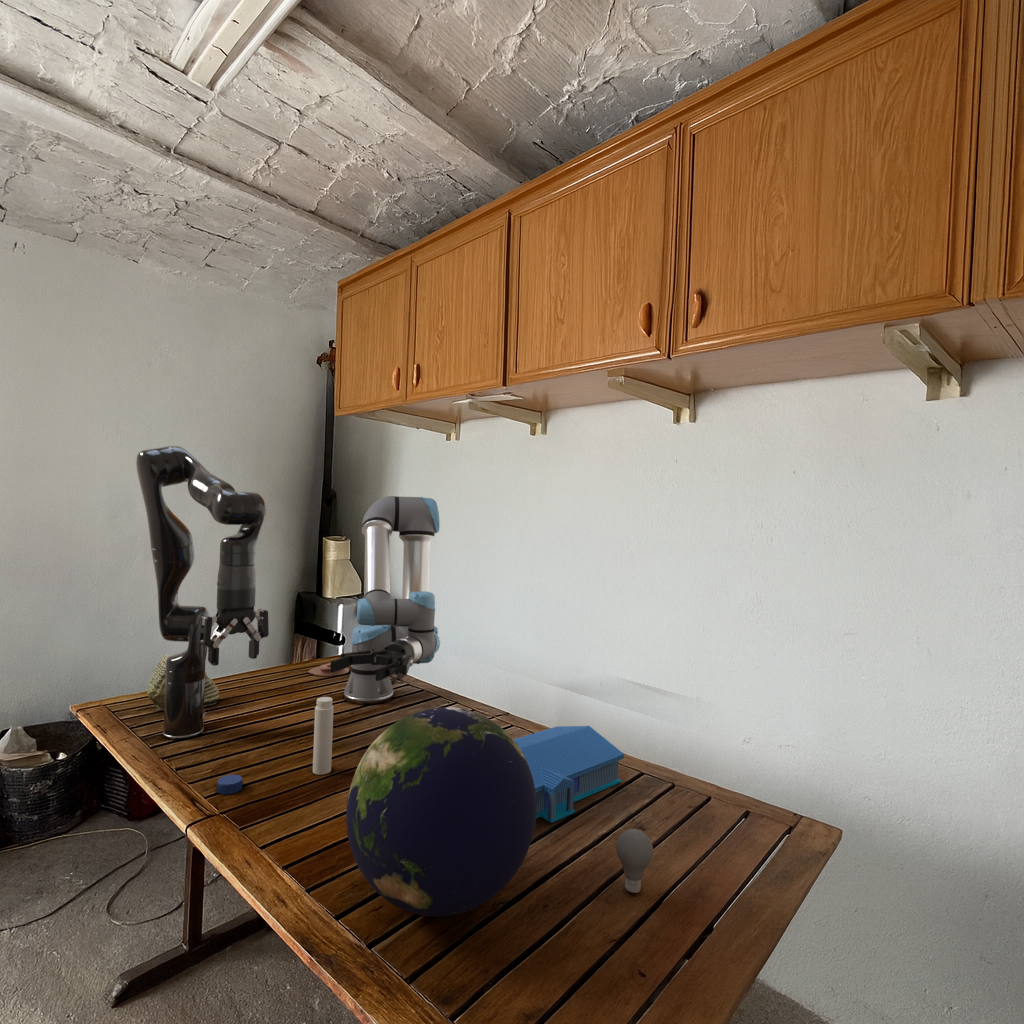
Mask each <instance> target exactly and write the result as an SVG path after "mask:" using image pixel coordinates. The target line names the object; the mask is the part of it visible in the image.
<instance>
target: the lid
mask: <svg viewBox="0 0 1024 1024" xmlns="http://www.w3.org/2000/svg"><path fill="white" fill-rule="evenodd" d="M243 781H244V780H243V777H242V775H240V774H227V775H224V776H221V777H220V778H219V779H218V780H217V782H216V792H217V793H218V794H221V795H232V794H236V793H238V792H240V791H241V790H242V789H243V784H244V783H243Z"/></svg>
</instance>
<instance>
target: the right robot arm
mask: <svg viewBox="0 0 1024 1024" xmlns="http://www.w3.org/2000/svg"><path fill="white" fill-rule="evenodd" d="M440 522H441V521H440V512H439V507H438V503H437V500H436V499H433V498H431V497H423V496H399V495H398V496H396V495H387V496H384V497H381V498H380V499H378V500H376V501H375V502H374V503H372V504H371V506H370V507H368V509H367V511H366V512H365V514H364V515H363V519H362V522H361V534H362V536H363V537H364V577H363V578H364V579H363V580H364V584H363V598H359V599H358V600H357V605H356V606H357V607H356V622H357V624H358V625H357V626H356V627H354V629H353V630H352V638H351V642H350V643H351V651H350V652H342V653H340V657H339V658H336V659H333V660H331V661H330V663H331V671H330V672H336V671H338V670H341V669H344V668H347V667H348V668H349V667H350V674H349V677H348V680H347V683H346V686H345V688H344V691H343V699H344V701H346V702H348V703H351V704H355V705H356V704H357V705H377V704H383V703H386V702H388V701H390V700H392V699H393V698H394V687H393V685H392V683H394V682H396V681H397V680H399V678H400V676H402V675H403V676H407V675H408V673H409V670H410V668H411V667H412V666H414V665H415V664H416V665H420V664H429V663H432V661H433V660H434V658H435V655H436V654H437V652H438V651H439V649H440V646H441V640H440V637H439V630H438V627H437V626H435V616H436V596H435V594H434V593H433V592H430V557H431V556H430V554H431V553H430V551H431V550H430V549H431V548H430V547H431V543H432V541H433V540H434V539H435V535H436V534H438V533H439V532H440V527H441V525H440ZM393 532H394V533H395V532H397V533H398V538H399V539H400V540H401V541H402V543H403V550H402V551H403V555H402V590H401V591H402V593H401V594H402V597H401V598H391V558H390V557H391V553H390V552H391V551H390V550H391V547H390V537H391V536H392V534H393ZM393 675H396V677H394V678H392V679H391V676H393Z"/></svg>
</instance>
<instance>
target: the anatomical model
mask: <svg viewBox="0 0 1024 1024" xmlns="http://www.w3.org/2000/svg"><path fill="white" fill-rule="evenodd" d="M330 671H331V662H329V663H325V664H321V665H319V666H316V667H313V668H310V669H309V670H308V674H311V675H313V676H314V675H315V676H321V677H324V676H325V677H326V676H327V677H328V676H339V675H345V674H347V673H349V671H350V668H349V667H347V668H344V669H341V670H338V671H336V672H330Z"/></svg>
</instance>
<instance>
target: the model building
mask: <svg viewBox="0 0 1024 1024" xmlns="http://www.w3.org/2000/svg"><path fill="white" fill-rule="evenodd" d="M513 740H514V741H515V742H516V744H517V745H518V746H519V748H520V749H521V751H522V753H523V755H524V756H525V758H526V760H527V763H528V766H529V768H530V771H531V774H532V777H533V781H534V786H535V792H536V805H537V810H536V819H539V818H541V819H543V820H545V821H548V823H551V824H553V823H556V822H557V821H559V820H562V819H564V818H567V817H569V816H570V815H573V814H575V813H576V810H575V809H574V803H576V802H578V801H580V800H583V799H585V798H587V797H589V796H592V795H594V794H597V793H599V792H601V791H604V790H607V789H609V788H611V787H613V786H615V785H617V784H620V783H622V779H620V778H618V777H619V761H621V760H623V759H625V753H623V751H621V750H620V749H619V748H617V747H616V746H615V745H613V743H611V741H609V740H607V738H605V737H604V736H602V735H601V734H600V733H599V732H597V731H596V730H595V729H594V728H593V727H592V726H590V725H566V726H565V725H564V726H563V725H561V726H560V725H559V726H553V727H550V728H548V729H544V730H540V731H537V732H534V733H531V734H527V735H523V736H520V737H517V738H513Z"/></svg>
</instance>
